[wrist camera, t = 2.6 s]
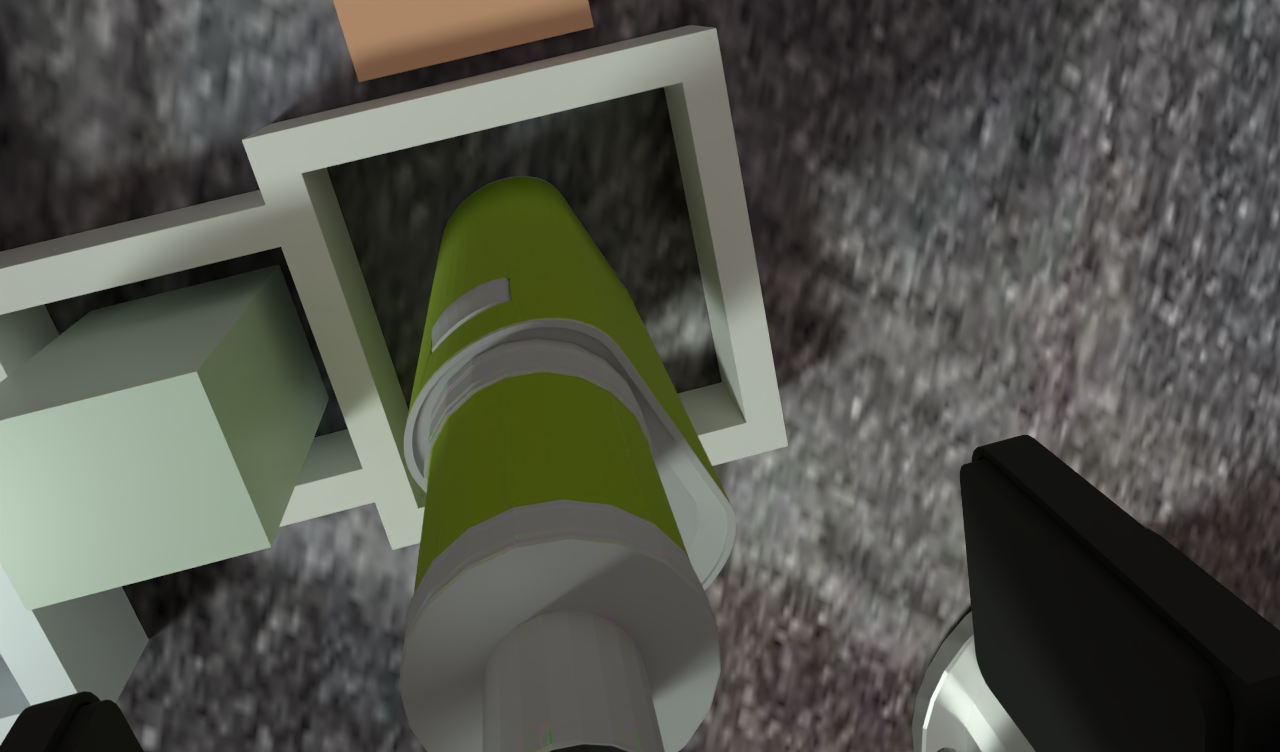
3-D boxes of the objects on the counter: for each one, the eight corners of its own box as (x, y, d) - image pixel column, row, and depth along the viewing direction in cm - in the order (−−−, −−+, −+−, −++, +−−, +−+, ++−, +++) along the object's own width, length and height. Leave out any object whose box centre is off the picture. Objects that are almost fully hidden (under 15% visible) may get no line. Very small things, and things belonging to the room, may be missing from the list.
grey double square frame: (671, -80, 24) (695, -91, 21) (759, 403, 29) (787, 445, 26) (-102, 97, 23) (-182, 110, 20) (131, 567, 28) (92, 628, 25)
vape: (528, 146, 26) (635, 527, 7) (650, 322, 28) (971, 958, 9) (414, 226, 26) (232, 790, 7) (543, 394, 28) (652, 1146, 10)
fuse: (279, 264, 26) (196, 371, 18) (329, 398, 27) (271, 547, 20) (91, 310, 25) (-70, 438, 18) (152, 443, 27) (27, 610, 20)
